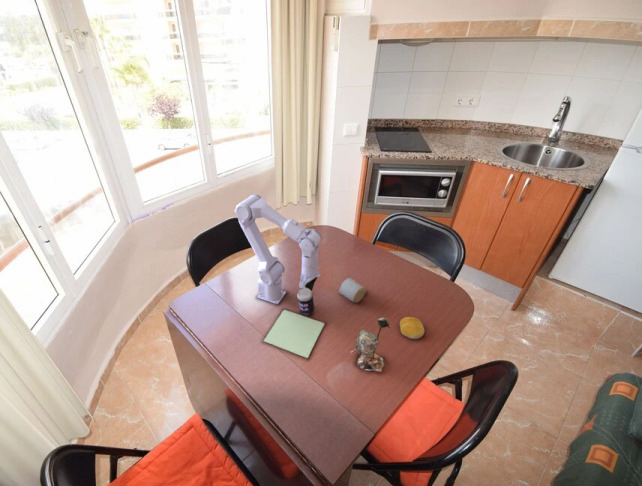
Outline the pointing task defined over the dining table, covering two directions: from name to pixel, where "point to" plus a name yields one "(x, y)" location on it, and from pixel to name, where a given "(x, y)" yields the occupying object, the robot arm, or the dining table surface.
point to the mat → (294, 333)
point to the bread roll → (411, 327)
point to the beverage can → (305, 301)
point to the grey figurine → (370, 348)
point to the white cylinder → (352, 290)
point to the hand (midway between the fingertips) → (308, 290)
